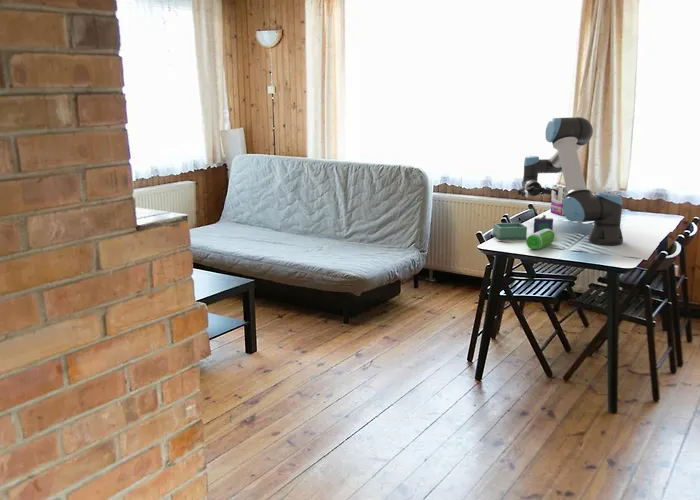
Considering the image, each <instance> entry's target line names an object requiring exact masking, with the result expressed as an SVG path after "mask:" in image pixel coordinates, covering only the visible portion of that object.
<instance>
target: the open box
mask: <svg viewBox="0 0 700 500" xmlns="http://www.w3.org/2000/svg"><path fill="white" fill-rule="evenodd" d="M492 228H493V229H492V236H494V237H495V238H496V239H497V240H499V241H509V240H510V241H512V240H513V241H514V240H515V241H516V240H527V234H528V233H527V231H528V227H527V226H526V225H524V224H522V223H521V222H499V223H497V222H496V223H493V226H492Z"/></svg>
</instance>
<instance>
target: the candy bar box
mask: <svg viewBox="0 0 700 500" xmlns="http://www.w3.org/2000/svg"><path fill="white" fill-rule="evenodd" d="M551 189H556V190H558V195H556V198H554V197H552V196H551V199H550V200H551V201H550V202H551V203H550V205H551V206H550V213H552V214H555V215H559V216H565V215H564V213H563V201H564V199H565V196H566V195H567V193H568V192H567V188H566V185H563V184H559V183H558V184H552V188H551Z"/></svg>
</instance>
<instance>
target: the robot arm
mask: <svg viewBox="0 0 700 500" xmlns="http://www.w3.org/2000/svg"><path fill="white" fill-rule="evenodd" d="M544 134H545V140H546V141H547V142H548V143H552V144H551V145H552V147H553V149H556V150H557V151H555V153H554V154H553V155H552V156H551V157H550V158H546V159H544V158H543V159H542V158H541V159H540V157H539V156H538V155H527V156H525V158H524V164H523V177H522V181H521V187H520V188H519V189H518V190H517V195H519V196H521V197H525V198H529V195H530V196H532V197H536V196H539V195H550V196H551V198H552V197H554V198H556V195H558V190H556V189H552V188H551V187H548V186H547V187H545V186H543V187H542V184H540V183H539V181H538V178H539V177H538V176H539V174H559V173H562V176H563V179H564V183H565V186H566V188H567V192H568V193H567V195H566V196H565V199H564V201H563V213H564V215H563V216H564V217H565V218H566V219H567V221H569V222H571V223H573V222H576V223H582V222H593V226H592V228H591V231H590V233H589V236H588V241H589V243H592V244H596V245H602V246H619V245H622V244H623V242H624V237H623V233H622V229H621V221H622V220H621V218H622V213H623V212H622V211H623V210H622V209H623V197H622V196H621V195H619V194H614V193H610V192H603V191H602V192H601V191H600V192H596V194H595V195H592V191H591V190H590V189H588V188H587V186H586V182H585V178H584V174H583V170H582V165H581V161H580V158H579V154H578V150H579V149H580V148H581V147H582V146H586V145H587V144H588V143H589V142H590V141H591V139H592V137H593V134H594V128H593V126H592V124H591V122H590V121H589V119H587V118H584V117H580V116H579V117H574V116H573V117H561V116H560V117H559V116H558V117H553V118H551V119H550V120H549V121H548V122H547V124H546V128H545V133H544Z"/></svg>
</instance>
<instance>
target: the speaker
mask: <svg viewBox="0 0 700 500" xmlns="http://www.w3.org/2000/svg"><path fill="white" fill-rule="evenodd" d="M555 239H556V234H555V232H554V231H552V230H551V229H543V230H541V231H538V232H536V233H534V232H533V233H531V234H529V236H528V237H526V246H527V247H528V248H529V249H530V250H541V249H543V248H545V247H547V246H549V245H550V244H553V242H554V240H555Z"/></svg>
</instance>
